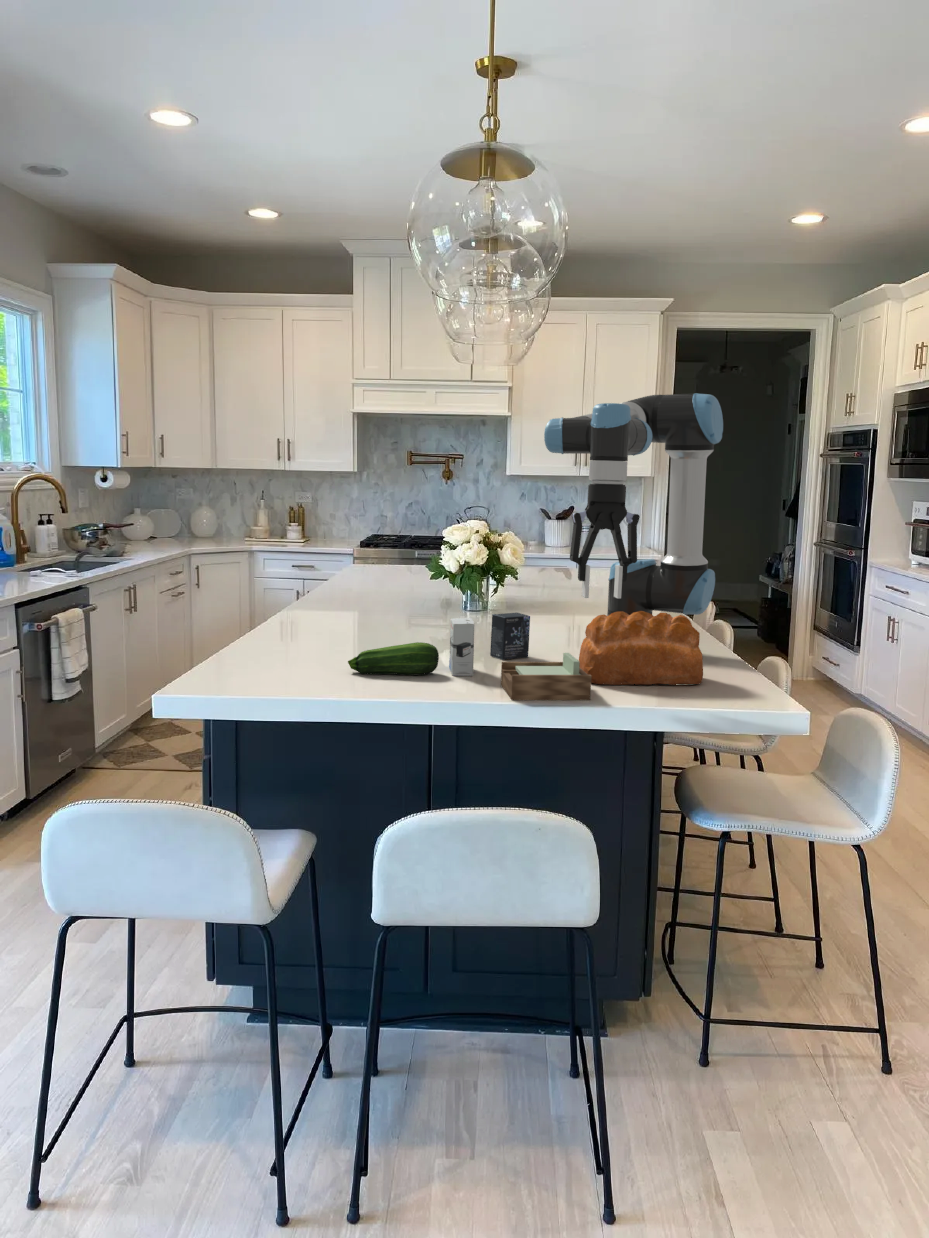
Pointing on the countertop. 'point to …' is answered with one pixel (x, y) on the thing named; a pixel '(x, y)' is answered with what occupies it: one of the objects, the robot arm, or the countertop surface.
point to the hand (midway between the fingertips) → (601, 597)
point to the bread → (641, 650)
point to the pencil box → (544, 683)
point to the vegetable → (397, 660)
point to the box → (510, 636)
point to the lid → (552, 668)
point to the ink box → (461, 647)
